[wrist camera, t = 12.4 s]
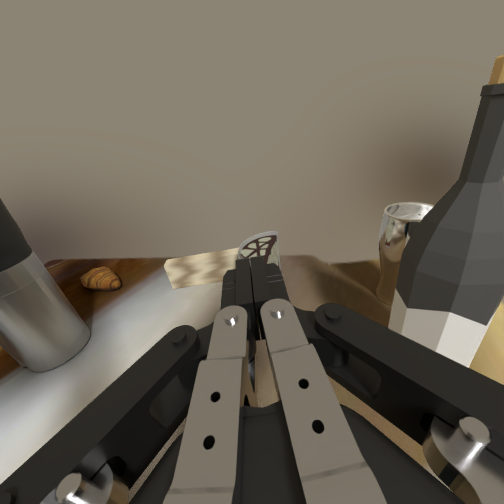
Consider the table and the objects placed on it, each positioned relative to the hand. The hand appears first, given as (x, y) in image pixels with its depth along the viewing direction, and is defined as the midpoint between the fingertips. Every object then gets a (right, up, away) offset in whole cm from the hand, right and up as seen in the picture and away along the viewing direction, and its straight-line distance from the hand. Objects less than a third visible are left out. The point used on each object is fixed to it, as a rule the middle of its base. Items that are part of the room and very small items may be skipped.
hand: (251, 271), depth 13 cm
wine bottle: (+21, -13, +16) cm, 29 cm away
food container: (+2, -7, +33) cm, 34 cm away
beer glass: (+24, -6, +26) cm, 36 cm away
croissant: (-36, -7, +44) cm, 58 cm away
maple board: (-6, -5, +39) cm, 39 cm away
